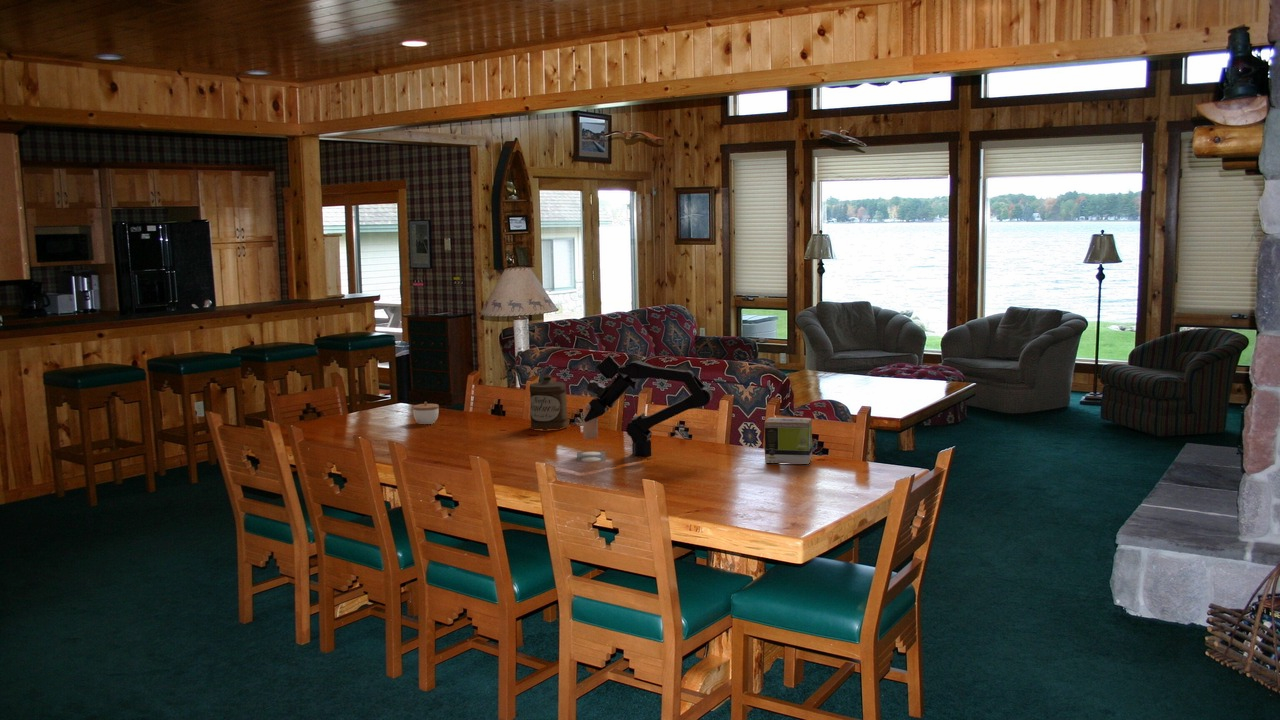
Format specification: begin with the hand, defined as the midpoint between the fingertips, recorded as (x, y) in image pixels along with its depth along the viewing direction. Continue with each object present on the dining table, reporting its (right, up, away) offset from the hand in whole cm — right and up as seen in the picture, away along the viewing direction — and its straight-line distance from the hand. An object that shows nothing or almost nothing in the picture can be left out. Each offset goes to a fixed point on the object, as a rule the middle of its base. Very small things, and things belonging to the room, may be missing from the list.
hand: (586, 419), depth 358 cm
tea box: (+69, -14, -13) cm, 72 cm away
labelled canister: (-18, -7, +56) cm, 60 cm away
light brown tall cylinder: (+1, -6, +1) cm, 7 cm away
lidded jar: (-71, -6, +71) cm, 101 cm away
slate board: (+2, -14, -3) cm, 14 cm away
